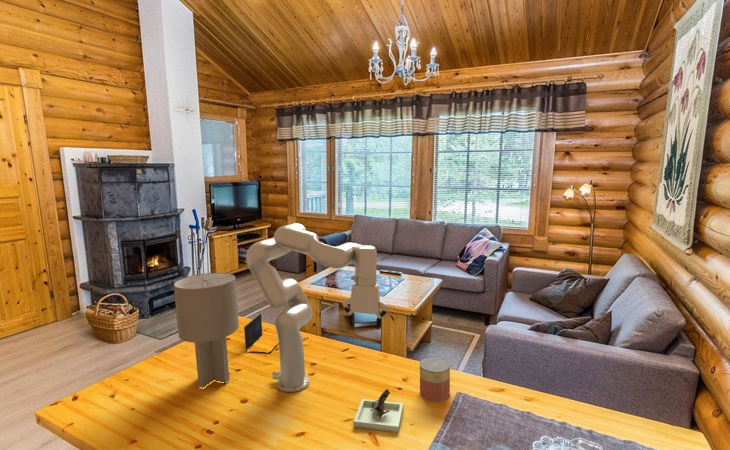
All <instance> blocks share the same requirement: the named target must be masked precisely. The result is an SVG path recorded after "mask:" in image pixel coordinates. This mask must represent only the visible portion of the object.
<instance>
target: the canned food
mask: <svg viewBox="0 0 730 450" xmlns="http://www.w3.org/2000/svg"><path fill="white" fill-rule="evenodd" d="M450 369H451V363H450V362H449V361H448V360H447V359H444V358H443V357H438V356H428V357H424V358H422V359H420V361H419V395H420V397H421V398H422V399H423V400H425V401H426V402H431V403H443V402H445V401H447V400H449V399H450V396H451V391H450V390H451V388H450V387H451V382H450V381H451V379H450V378H451V370H450Z"/></svg>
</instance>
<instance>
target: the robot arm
mask: <svg viewBox="0 0 730 450" xmlns="http://www.w3.org/2000/svg"><path fill="white" fill-rule="evenodd" d="M291 251H294V252H298V253H301V254H303V255H306V256H308V257H310V259H311V260H313V262H315V263H317V264H319V265H322V266H326V267H329V268H333V269H342V268H345V267H347V266H349V265H351V264H353V263H354V275H351V278H350V280H351V281H354V282H353V283H352V286H351V293H350V298H347V299H345V300H343V301H342V302H341V305H342V306H343V310H344V311H345V312H346V313H347V315H348V323H349V325H350V327H353V326H354V325H355V313H357V314H358V313H360V314H368V315H376V317H377V318H376V326H375V327H376V330H379V329H380V327H382V322H383V321H382V318H383V317H384V316H385V315H386V314H387V312H388V311H389V309H390V305H389V304H387V303H385V302H384V301H383V300H381V299H380V297H381V296H380V289H379V284H378V283H377V257H378V256H377V255H378V253H377V248H376V247H375V246H373V245H370V244H369V245H368V244H360V243H356V242H355V243H354V242H345V243H342V244H340V245H337V246H333V245H329V244H325V243H322V242H320V237H319V235H318V234H317V233H315V232H312V231H308V230H307V229H306V227H305V226H304V225H303V224H301V223H297V222H295V223H290V224H285V225H282V226H280V227H278V228H277V229H276V230H275V232H274V234H273V237H271V238H267V239H262V240H259V241H257V242H255V243H253V244H252V245H250V247H249V248H248V249H247V252H246V255H245V259H246V265H247V267H248V270H250V273H251V274H252V275H253V277H254V278H255V280H256V282H257V283H258V286H259V288H260V290H261V291H262V293H263V295H264V299H265V300H266V301H267V303H268V305H269V306H270V307H271V308H274V309H280V308H282V307H284V306H286V305H288V307H286V308H284V309H283V310H281V311H280V312H279V313H278V314H277V315H276V317H275V320H274V325H275V330H276V333H277V337H278V340H279V344H278V352H279V366H280V371H277V370H276V371H275V370H274V371H272V380H273V379H274V380H278V381H277V389H279V390H280V391H282V392H285V393H295V392H296V393H297V392H299V391H302V390H304V389H306V388H307V387H308V386H309V385H310V378H309V376H308V375H306V366H305V351H304V350H305V349H304V346H305V345H304V338H303V335H302V334H301V331H300V329H301V328H302V327H303V326H305V325H306V324H308V323H309V322H310V321H312V318H313V315H314V313H313V311H314V310H313V308H312V306H311V303H310V301H309V300H308V297H307V296H306V294H305V291H304V289H303V288H302V286H301V284H300V283H299V282H298V281H297V280H296V279H294V278H291V277H286V278H284V279H282V278H281V276H280V274H279V273H278V271H277V270H276V268H275V267H274V266H272V265H271V264H270V263H269V261H272V260H276V259H279V258H281V257H284V256H286V254H288V253H290V252H291ZM348 304H349V306H348ZM381 307H382V308H383V310H382V311H381V309H380V308H381Z"/></svg>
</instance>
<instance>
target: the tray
mask: <svg viewBox="0 0 730 450" xmlns="http://www.w3.org/2000/svg"><path fill="white" fill-rule="evenodd" d="M377 400H378V399H367V398H362V399H361V401H360V403H359V406H358V409H357V411H356V414H355V416H354V420H353V428H354V429H355V428H356V429H363V430H373V431H381V432H389V433H399V432H400V427H401V422H402V419H403V418H402V417H403V412H404V403H403V402H396V401H387V400H385V402H384V407H385V408H387V411H388V410H389V412H388V413H385V414H383V415H382V417H381V418H380V419H379V416H376V415H377V414H378V413H377V410H376V409H374V410H373V411H370V410H371V409H372V403H373V402H374V401H377ZM383 411H384V412H386V411H385V410H383Z"/></svg>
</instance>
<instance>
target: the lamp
mask: <svg viewBox="0 0 730 450" xmlns="http://www.w3.org/2000/svg"><path fill="white" fill-rule="evenodd" d="M236 280H237V279H236V276H235V274H233V273H232V274H231V273H228V272H207V273H200V274H194V275H189V276H185V277H182V278H180V279H179V280H178V279H177V280H176V281H175V282H174V283H173V291H174V293H173V294H174V301H175V311H176V320H177V321H176V323H177V331H178V337H179V339H180V340H182V341H183V342H187V343H194V351H195V361H196V362H195V363H196V370H197V371H196V372H197V382H198V388H199V387H202V388H203V387H205V386H206V385H207V384H209V383H210V382H212V381H213V380H216V381H220V382H224V383H226V382H228V381H229V380H230V371H229V369H230V368H229V357H228V345H227V337H229V336H231V335H232V334H234V333H236V332H237V331H238V330H239V328H240V323H239V321H240V320H239V310H238V309H239V308H238V306H239V305H238V295H237V281H236Z"/></svg>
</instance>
